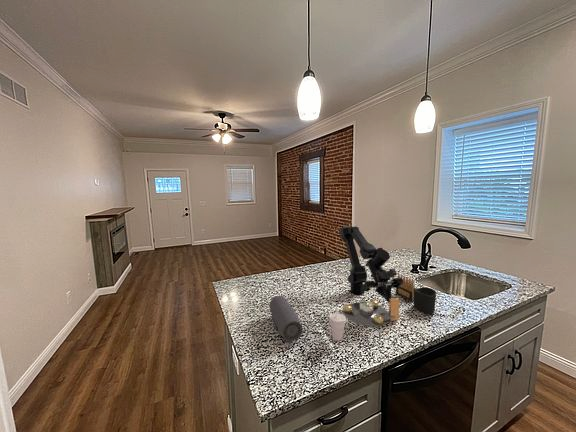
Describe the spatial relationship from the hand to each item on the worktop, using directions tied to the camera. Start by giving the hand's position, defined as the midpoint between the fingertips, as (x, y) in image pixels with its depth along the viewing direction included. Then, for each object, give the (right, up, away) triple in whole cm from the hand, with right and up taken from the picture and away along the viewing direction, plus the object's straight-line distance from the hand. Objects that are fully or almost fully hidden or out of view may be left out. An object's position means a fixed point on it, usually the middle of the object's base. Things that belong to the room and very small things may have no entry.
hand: (390, 302), depth 109 cm
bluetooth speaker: (-47, -10, -4) cm, 48 cm away
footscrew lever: (-3, -7, -2) cm, 8 cm away
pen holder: (+20, -7, +9) cm, 23 cm away
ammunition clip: (+17, -5, +23) cm, 29 cm away
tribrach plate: (-9, -8, +5) cm, 13 cm away
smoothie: (-26, -10, -13) cm, 31 cm away
